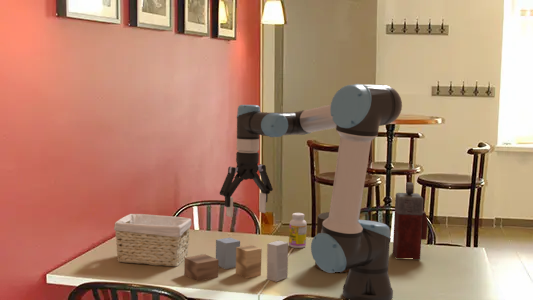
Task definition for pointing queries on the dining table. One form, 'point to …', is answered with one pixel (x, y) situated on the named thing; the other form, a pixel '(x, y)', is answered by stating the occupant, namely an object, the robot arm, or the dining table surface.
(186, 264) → the base block
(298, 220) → the supplement bottle
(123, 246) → the storage basket
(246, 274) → the oak block
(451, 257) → the dining table surface
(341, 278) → the dining table surface
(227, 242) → the blue block
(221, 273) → the dining table surface
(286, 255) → the skincare box
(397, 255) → the red square decanter
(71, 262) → the dining table surface
